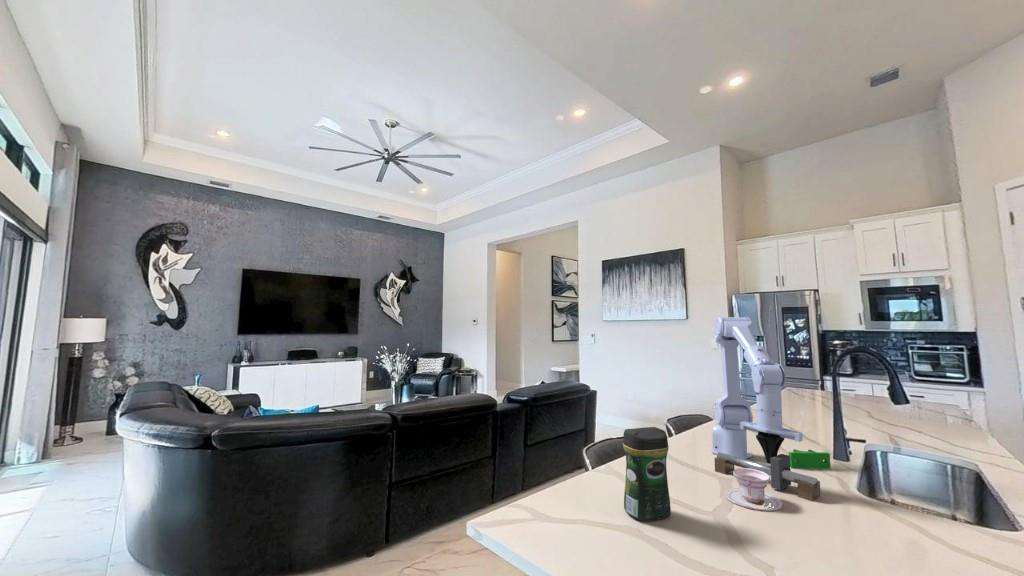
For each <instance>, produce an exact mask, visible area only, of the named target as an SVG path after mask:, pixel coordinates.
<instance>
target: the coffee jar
mask: <svg viewBox="0 0 1024 576" xmlns="http://www.w3.org/2000/svg"><path fill="white" fill-rule="evenodd" d="M622 447H623V450H624V453H625V459H626V460H625V463H626V464H625V465H626V466H625V484H624V495H623V497H624V498H623V508H624V511H625V512H626V514H628V516H630V517H631V518H633V519H636V520H639V521H642V522H647V521H649V522H650V521H657V520H661V519H665V518H668V517H670V516H671V513H672V509H671V500H670V499H671V498H670V492H669V483H668V474H667V473H668V471H667V458H668V457H667V456H668V453H669V442H668V436H667V433H666V431H665V430H664V429H661V428H660V427H656V426H647V427H646V426H645V427H636V428H626V429H624V431H623V439H622Z"/></svg>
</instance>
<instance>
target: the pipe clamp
mask: <svg viewBox="0 0 1024 576" xmlns="http://www.w3.org/2000/svg"><path fill="white" fill-rule="evenodd" d="M788 455H789V456H790V467H791V468H790V469H807V470H808V469H810V470H811V469H814V470H815V469H816V470H818V469H819V470H820V469H821V470H828V469H829V470H831V453H829V452H825V451H823V452H817V451H815V450H812V449H807V451H806V450H799V449H793V450H792V451H789V452H788Z"/></svg>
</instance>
